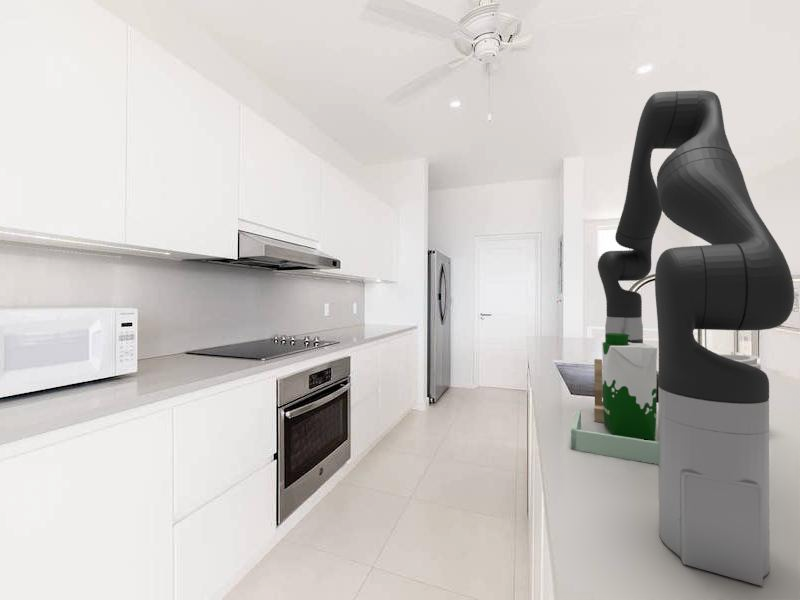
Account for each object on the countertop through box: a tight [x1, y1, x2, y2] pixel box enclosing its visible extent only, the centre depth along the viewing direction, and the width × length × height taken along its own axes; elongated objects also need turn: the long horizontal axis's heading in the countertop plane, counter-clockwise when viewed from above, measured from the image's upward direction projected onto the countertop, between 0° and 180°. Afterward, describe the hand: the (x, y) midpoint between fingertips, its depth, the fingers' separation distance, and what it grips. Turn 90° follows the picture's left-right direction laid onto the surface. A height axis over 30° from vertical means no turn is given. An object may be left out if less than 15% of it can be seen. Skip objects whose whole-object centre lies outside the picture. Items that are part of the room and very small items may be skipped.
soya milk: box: [601, 333, 658, 441], centre depth 75 cm, size 9×9×20 cm
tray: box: [570, 409, 659, 466], centre depth 68 cm, size 14×19×4 cm
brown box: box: [593, 358, 605, 424], centre depth 82 cm, size 7×10×13 cm
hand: (623, 409), depth 86 cm, fingers closed
